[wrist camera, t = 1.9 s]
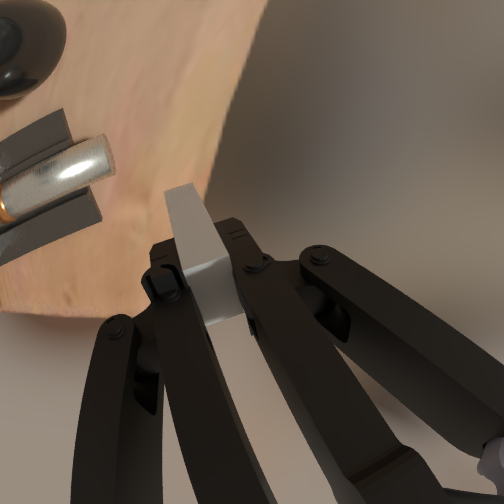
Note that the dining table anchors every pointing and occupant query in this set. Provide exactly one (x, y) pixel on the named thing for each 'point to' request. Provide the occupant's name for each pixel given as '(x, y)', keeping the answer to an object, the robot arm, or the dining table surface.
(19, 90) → the black tall rounded dome
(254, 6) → the dining table surface
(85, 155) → the tube
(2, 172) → the twin arch cradle
